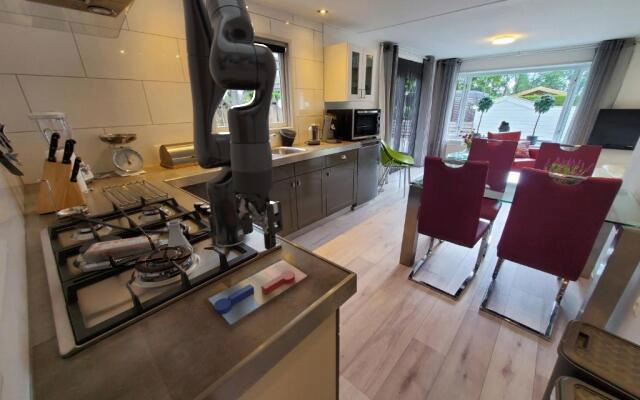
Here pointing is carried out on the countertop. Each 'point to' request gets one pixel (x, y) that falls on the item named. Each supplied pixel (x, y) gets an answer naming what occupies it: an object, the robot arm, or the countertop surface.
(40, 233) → the countertop surface
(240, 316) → the sorting mat
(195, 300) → the countertop surface
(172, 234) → the flask
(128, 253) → the packaged product
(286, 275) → the red spoon
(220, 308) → the blue spoon
